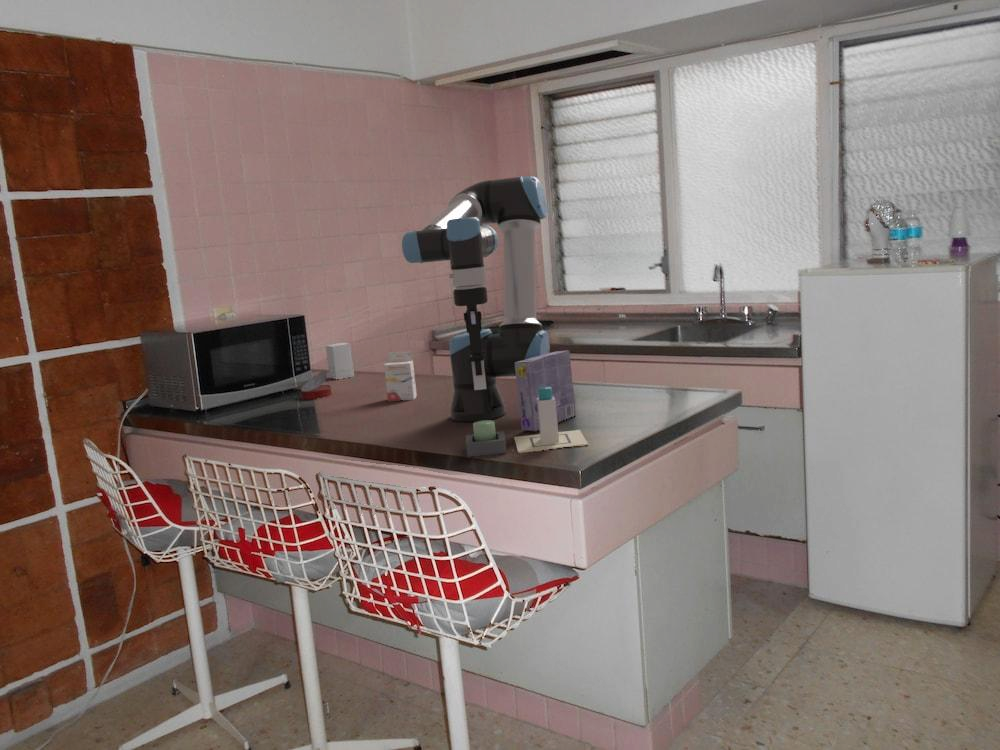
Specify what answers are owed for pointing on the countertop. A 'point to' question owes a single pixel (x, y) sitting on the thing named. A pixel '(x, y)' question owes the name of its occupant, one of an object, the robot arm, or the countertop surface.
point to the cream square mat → (535, 444)
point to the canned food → (316, 387)
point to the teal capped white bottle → (547, 415)
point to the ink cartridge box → (400, 377)
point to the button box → (486, 445)
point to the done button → (484, 430)
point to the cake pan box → (544, 374)
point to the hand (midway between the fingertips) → (479, 385)
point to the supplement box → (340, 360)
